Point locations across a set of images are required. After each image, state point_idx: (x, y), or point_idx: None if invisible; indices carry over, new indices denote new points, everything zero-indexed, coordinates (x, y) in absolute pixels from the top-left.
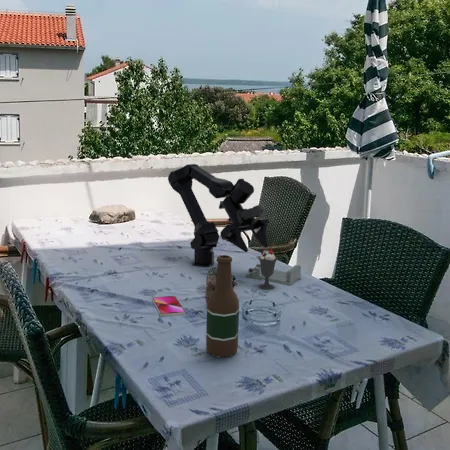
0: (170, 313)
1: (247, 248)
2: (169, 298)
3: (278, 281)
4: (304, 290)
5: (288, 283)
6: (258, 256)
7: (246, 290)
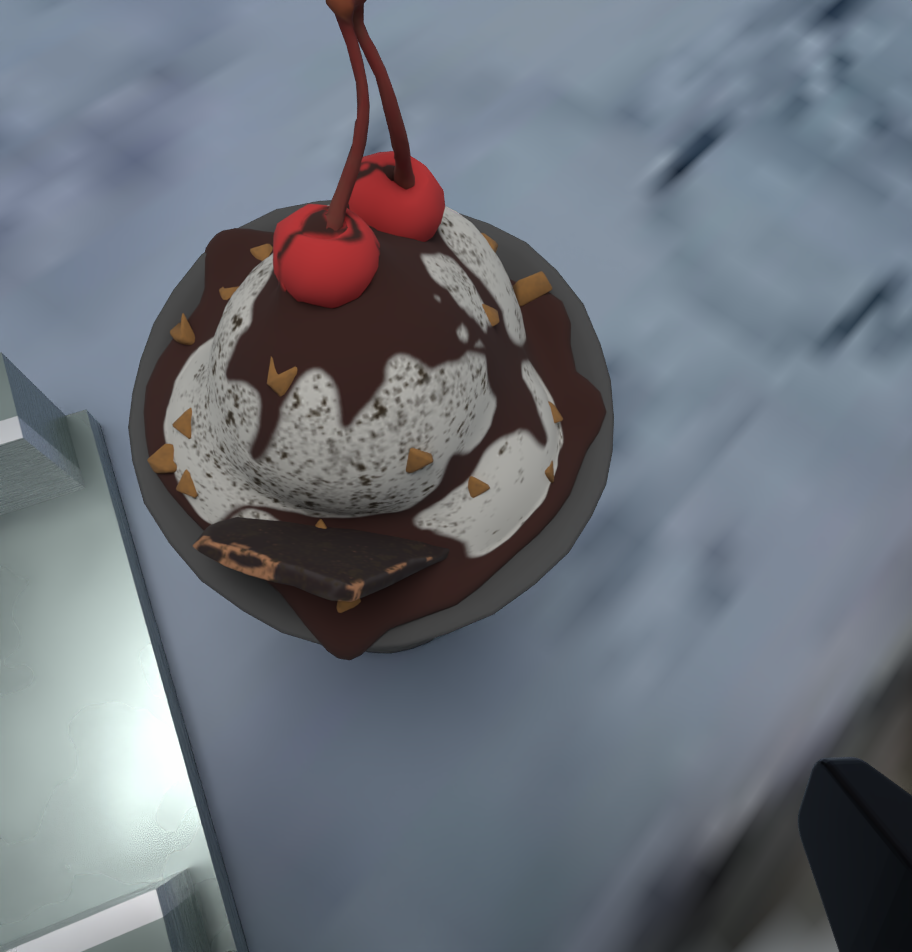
0: None
1: (865, 801)
2: None
3: (133, 565)
4: (115, 217)
5: (97, 430)
6: (513, 584)
7: (684, 609)
